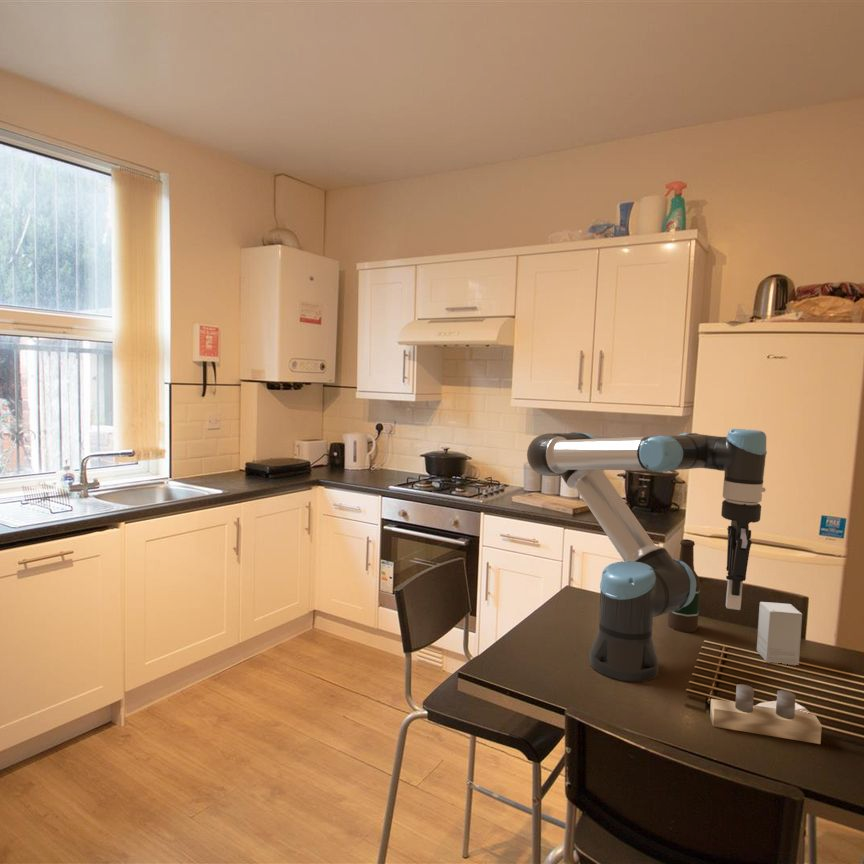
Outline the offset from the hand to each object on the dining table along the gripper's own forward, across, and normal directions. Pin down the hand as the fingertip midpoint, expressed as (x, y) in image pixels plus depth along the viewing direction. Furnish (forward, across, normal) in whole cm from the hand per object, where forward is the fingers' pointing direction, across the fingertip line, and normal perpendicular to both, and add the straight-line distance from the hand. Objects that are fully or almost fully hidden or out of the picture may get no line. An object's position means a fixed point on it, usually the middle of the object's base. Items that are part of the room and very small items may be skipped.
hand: (732, 607), depth 134 cm
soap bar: (+17, -12, -8) cm, 23 cm away
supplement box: (+17, +18, -14) cm, 29 cm away
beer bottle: (+18, +31, +6) cm, 36 cm away
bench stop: (+17, -19, -3) cm, 25 cm away
